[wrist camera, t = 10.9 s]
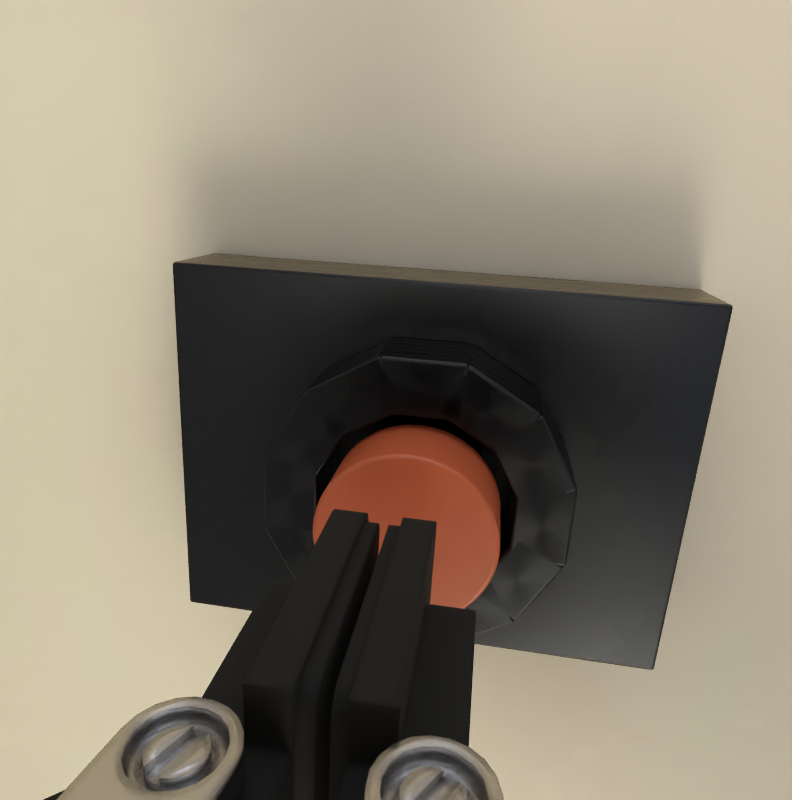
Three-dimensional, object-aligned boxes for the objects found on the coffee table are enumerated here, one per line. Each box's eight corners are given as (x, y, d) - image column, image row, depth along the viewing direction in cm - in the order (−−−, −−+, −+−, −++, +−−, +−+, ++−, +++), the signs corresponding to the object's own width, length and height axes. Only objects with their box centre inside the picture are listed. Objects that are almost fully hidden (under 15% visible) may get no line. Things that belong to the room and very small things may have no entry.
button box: (702, 289, 15) (769, 322, 11) (636, 615, 18) (671, 728, 14) (212, 253, 17) (128, 271, 13) (222, 559, 19) (155, 647, 16)
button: (509, 432, 13) (510, 467, 11) (491, 586, 14) (490, 637, 13) (335, 414, 14) (312, 445, 12) (331, 563, 15) (310, 610, 13)
